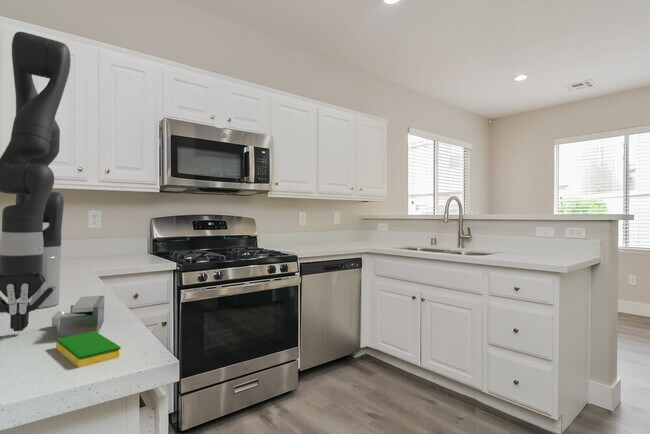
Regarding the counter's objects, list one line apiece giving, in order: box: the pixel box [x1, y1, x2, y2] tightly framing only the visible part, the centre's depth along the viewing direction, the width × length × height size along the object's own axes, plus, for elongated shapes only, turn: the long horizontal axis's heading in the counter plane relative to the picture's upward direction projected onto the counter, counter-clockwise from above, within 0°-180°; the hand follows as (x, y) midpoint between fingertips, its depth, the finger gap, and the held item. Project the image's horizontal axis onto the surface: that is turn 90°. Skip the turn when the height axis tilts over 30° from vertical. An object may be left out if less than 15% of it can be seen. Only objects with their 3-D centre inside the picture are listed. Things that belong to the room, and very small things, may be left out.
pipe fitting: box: [51, 310, 88, 334], centre depth 85 cm, size 8×4×7 cm
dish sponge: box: [55, 332, 122, 368], centre depth 72 cm, size 7×14×2 cm, turn 50°
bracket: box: [59, 295, 105, 338], centre depth 86 cm, size 12×7×6 cm, turn 25°
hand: (19, 330), depth 81 cm, fingers closed
